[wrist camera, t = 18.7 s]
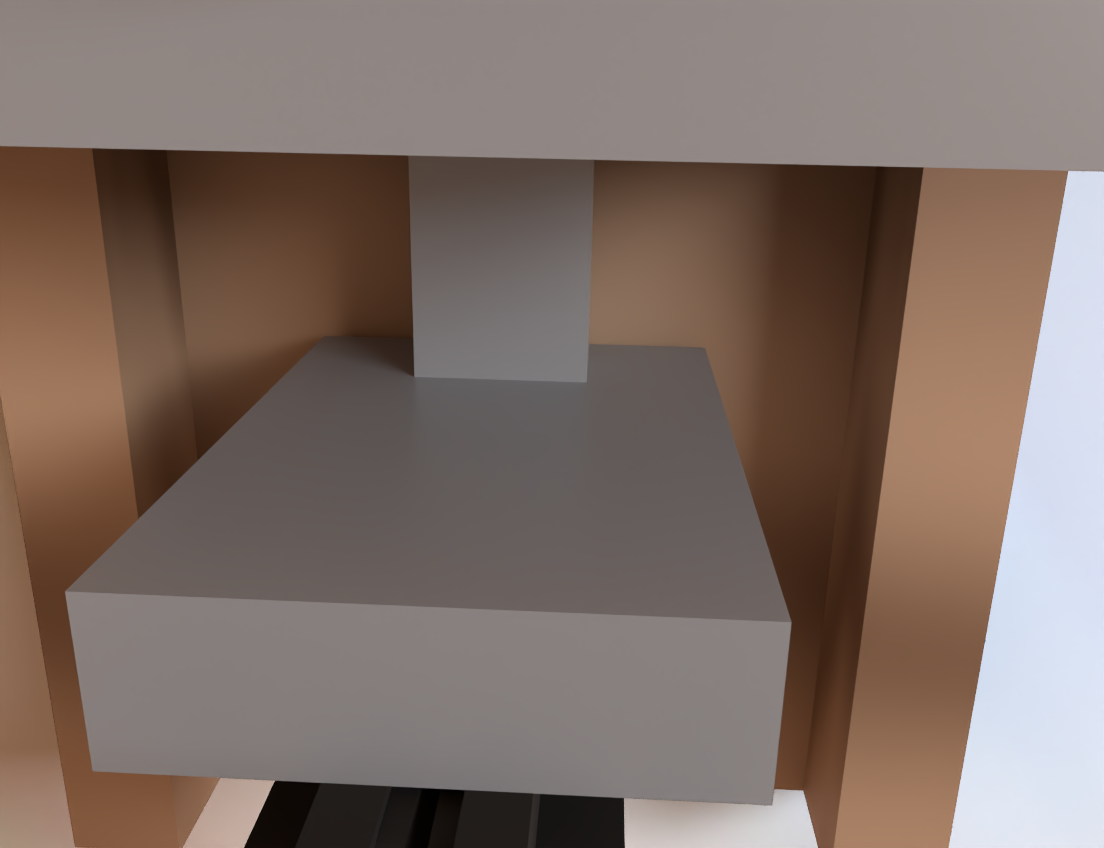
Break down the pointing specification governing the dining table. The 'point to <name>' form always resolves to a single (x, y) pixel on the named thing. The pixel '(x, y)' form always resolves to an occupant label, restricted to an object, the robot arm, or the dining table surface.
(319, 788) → the robot arm
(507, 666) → the pusher
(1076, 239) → the dining table surface
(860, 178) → the brown wooden tray
